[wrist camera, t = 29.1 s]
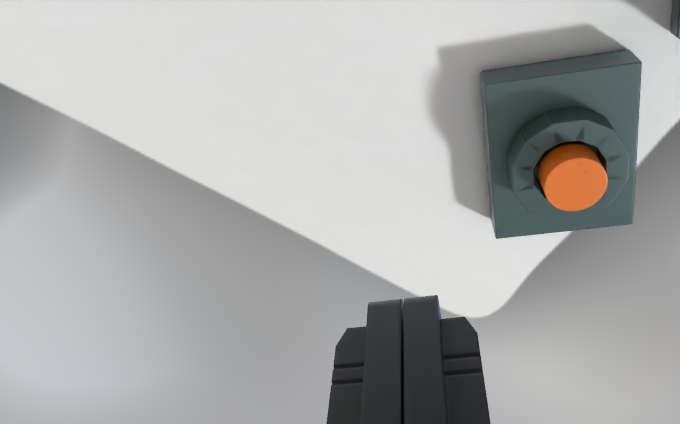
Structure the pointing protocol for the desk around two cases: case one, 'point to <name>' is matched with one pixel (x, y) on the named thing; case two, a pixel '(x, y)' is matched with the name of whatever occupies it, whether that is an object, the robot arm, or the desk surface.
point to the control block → (560, 138)
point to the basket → (675, 18)
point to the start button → (572, 177)
